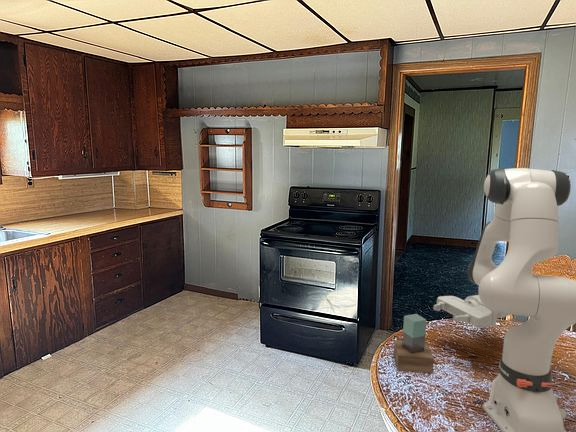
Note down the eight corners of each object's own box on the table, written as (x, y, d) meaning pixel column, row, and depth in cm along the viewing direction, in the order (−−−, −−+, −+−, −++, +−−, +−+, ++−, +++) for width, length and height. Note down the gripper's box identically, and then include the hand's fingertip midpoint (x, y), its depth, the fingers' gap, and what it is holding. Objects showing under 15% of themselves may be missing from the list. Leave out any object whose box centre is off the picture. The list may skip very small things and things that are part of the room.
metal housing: (424, 351, 133) (426, 319, 132) (411, 353, 132) (413, 321, 130) (414, 344, 138) (416, 313, 136) (402, 346, 136) (404, 315, 134)
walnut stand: (432, 373, 130) (433, 358, 129) (397, 370, 131) (398, 356, 130) (426, 355, 140) (427, 342, 140) (393, 353, 142) (394, 339, 141)
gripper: (455, 290, 151) (424, 294, 146) (501, 310, 132) (467, 315, 127) (454, 306, 152) (423, 310, 147) (499, 328, 133) (465, 334, 128)
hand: (444, 313), depth 137 cm, fingers open, 8 cm apart
